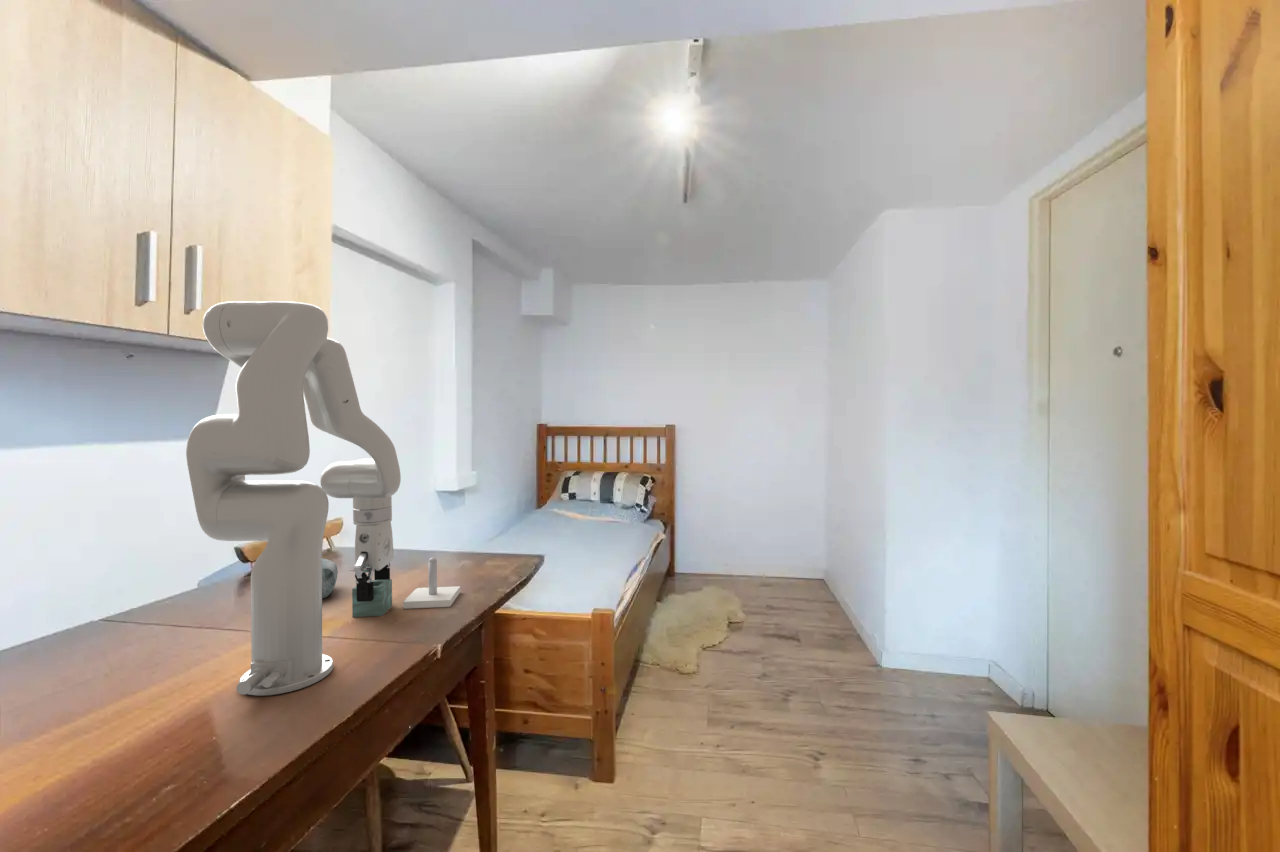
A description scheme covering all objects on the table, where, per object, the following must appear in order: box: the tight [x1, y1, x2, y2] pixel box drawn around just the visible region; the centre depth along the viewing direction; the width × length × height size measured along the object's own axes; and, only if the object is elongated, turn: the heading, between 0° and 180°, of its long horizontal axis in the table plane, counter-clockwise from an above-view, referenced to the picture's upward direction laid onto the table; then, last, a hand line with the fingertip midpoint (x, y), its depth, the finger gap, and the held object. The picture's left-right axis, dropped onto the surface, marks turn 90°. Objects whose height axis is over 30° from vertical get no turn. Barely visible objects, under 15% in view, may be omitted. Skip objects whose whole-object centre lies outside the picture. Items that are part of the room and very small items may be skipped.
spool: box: [322, 557, 339, 600], centre depth 127 cm, size 14×10×10 cm
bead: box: [351, 578, 393, 618], centre depth 116 cm, size 6×6×6 cm
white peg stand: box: [402, 556, 461, 610], centre depth 123 cm, size 10×10×10 cm
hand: (374, 593), depth 116 cm, fingers open, 9 cm apart
